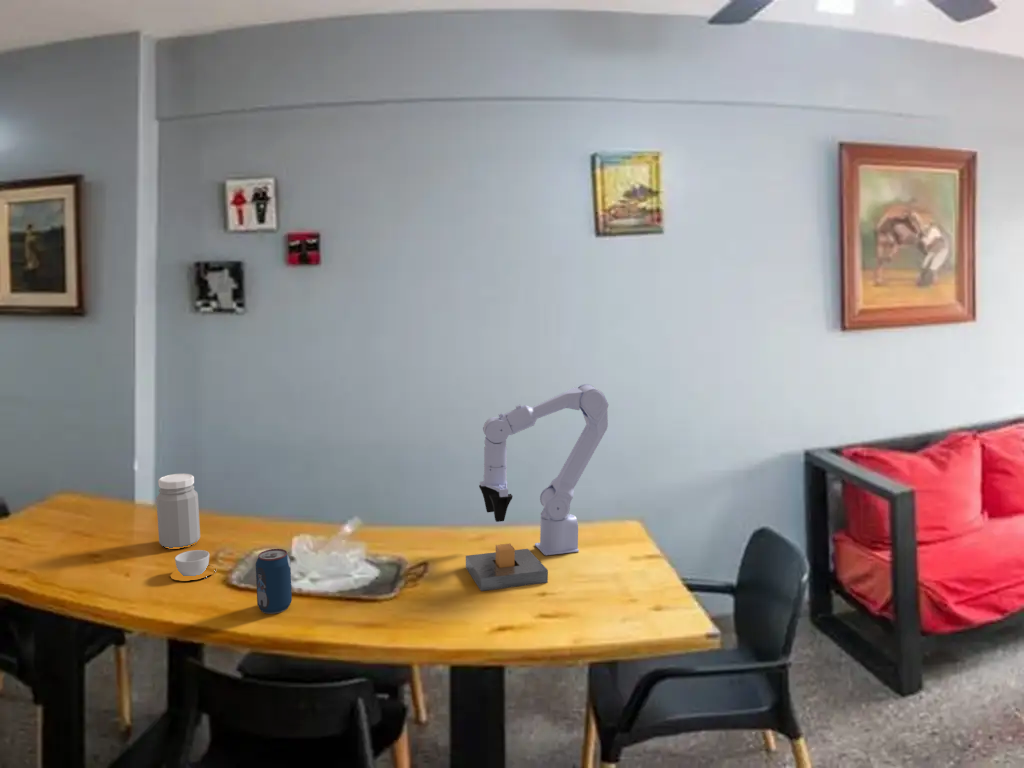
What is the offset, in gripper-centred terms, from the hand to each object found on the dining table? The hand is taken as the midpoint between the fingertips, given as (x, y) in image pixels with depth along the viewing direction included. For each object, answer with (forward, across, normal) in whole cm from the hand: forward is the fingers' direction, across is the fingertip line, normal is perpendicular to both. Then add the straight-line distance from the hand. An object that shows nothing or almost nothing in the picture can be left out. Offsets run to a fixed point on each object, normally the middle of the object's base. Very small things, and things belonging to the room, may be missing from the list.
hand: (495, 516), depth 181 cm
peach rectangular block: (+9, +15, -2) cm, 18 cm away
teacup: (+10, -8, -72) cm, 73 cm away
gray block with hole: (+9, +15, -2) cm, 18 cm away
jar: (+10, -30, -77) cm, 84 cm away
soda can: (+10, +16, -54) cm, 57 cm away
